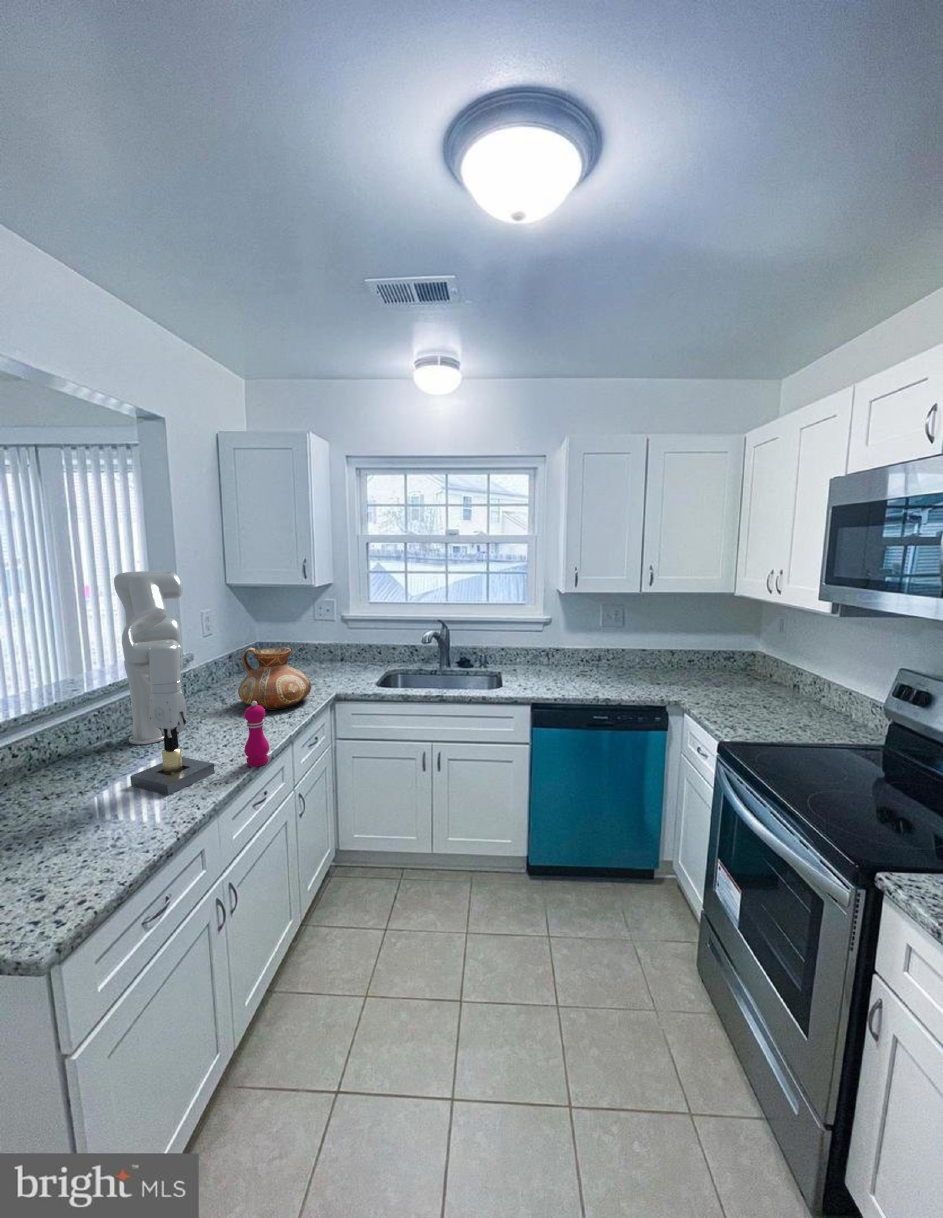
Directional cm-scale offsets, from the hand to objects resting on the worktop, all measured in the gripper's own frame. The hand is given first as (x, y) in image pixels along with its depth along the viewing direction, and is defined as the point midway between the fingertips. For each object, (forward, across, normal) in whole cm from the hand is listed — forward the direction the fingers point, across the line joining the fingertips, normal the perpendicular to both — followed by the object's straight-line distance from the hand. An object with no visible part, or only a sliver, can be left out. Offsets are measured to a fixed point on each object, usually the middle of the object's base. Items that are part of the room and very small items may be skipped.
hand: (171, 749), depth 148 cm
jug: (+9, -26, +69) cm, 74 cm away
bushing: (+9, 0, 0) cm, 9 cm away
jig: (+9, 0, 0) cm, 9 cm away
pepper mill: (+10, +14, +18) cm, 25 cm away
